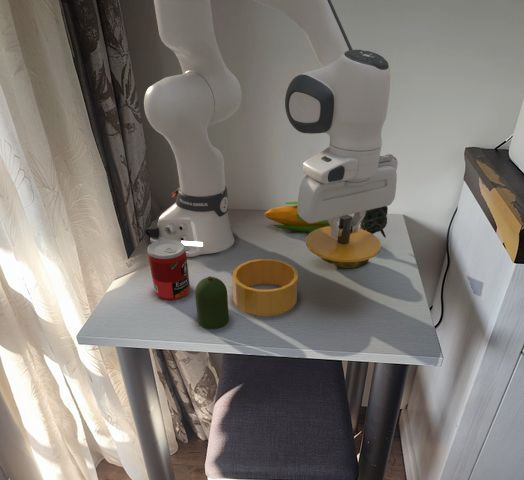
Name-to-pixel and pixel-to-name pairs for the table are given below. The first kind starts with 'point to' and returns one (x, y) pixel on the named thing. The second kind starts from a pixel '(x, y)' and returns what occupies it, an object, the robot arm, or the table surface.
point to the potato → (346, 263)
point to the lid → (343, 243)
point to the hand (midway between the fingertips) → (343, 234)
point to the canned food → (169, 269)
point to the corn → (293, 219)
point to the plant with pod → (375, 220)
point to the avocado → (212, 303)
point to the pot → (261, 299)
